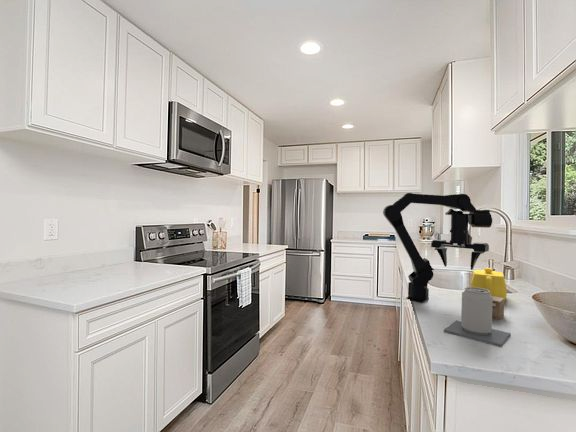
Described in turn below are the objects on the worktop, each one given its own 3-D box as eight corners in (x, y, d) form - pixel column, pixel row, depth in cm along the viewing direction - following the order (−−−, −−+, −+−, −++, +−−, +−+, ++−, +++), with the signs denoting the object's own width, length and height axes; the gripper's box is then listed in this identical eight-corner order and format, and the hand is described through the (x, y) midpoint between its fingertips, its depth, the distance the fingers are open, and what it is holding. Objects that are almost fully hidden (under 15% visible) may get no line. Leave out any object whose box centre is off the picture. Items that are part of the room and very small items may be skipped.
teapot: (470, 289, 142) (471, 263, 142) (504, 293, 136) (504, 265, 136) (469, 300, 125) (470, 270, 125) (508, 305, 119) (508, 273, 118)
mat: (443, 331, 92) (443, 329, 92) (456, 322, 99) (456, 320, 99) (501, 346, 82) (501, 344, 82) (510, 335, 90) (510, 333, 90)
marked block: (478, 316, 106) (478, 298, 106) (483, 311, 111) (483, 294, 110) (499, 320, 102) (499, 301, 102) (503, 316, 106) (504, 298, 106)
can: (491, 338, 86) (492, 293, 85) (460, 332, 90) (461, 289, 89) (491, 329, 92) (492, 288, 92) (462, 324, 96) (463, 284, 96)
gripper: (493, 227, 120) (492, 268, 121) (441, 225, 133) (440, 262, 134) (485, 228, 112) (484, 272, 113) (431, 226, 126) (430, 265, 126)
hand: (458, 268), depth 122 cm, fingers open, 9 cm apart
